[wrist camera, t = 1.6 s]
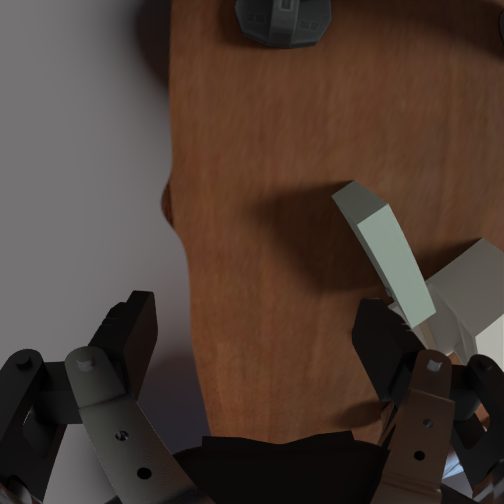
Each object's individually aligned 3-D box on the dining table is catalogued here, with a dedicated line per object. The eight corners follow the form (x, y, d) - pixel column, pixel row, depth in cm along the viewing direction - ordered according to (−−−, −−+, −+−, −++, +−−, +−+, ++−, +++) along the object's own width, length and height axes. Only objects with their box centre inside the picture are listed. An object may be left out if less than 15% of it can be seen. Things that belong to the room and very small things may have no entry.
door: (354, 179, 30) (388, 203, 21) (403, 269, 34) (436, 312, 26) (327, 197, 30) (352, 227, 22) (380, 285, 35) (408, 330, 26)
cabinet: (482, 237, 31) (538, 280, 21) (496, 312, 37) (535, 357, 26) (370, 316, 36) (401, 385, 26) (405, 376, 42) (429, 433, 31)
